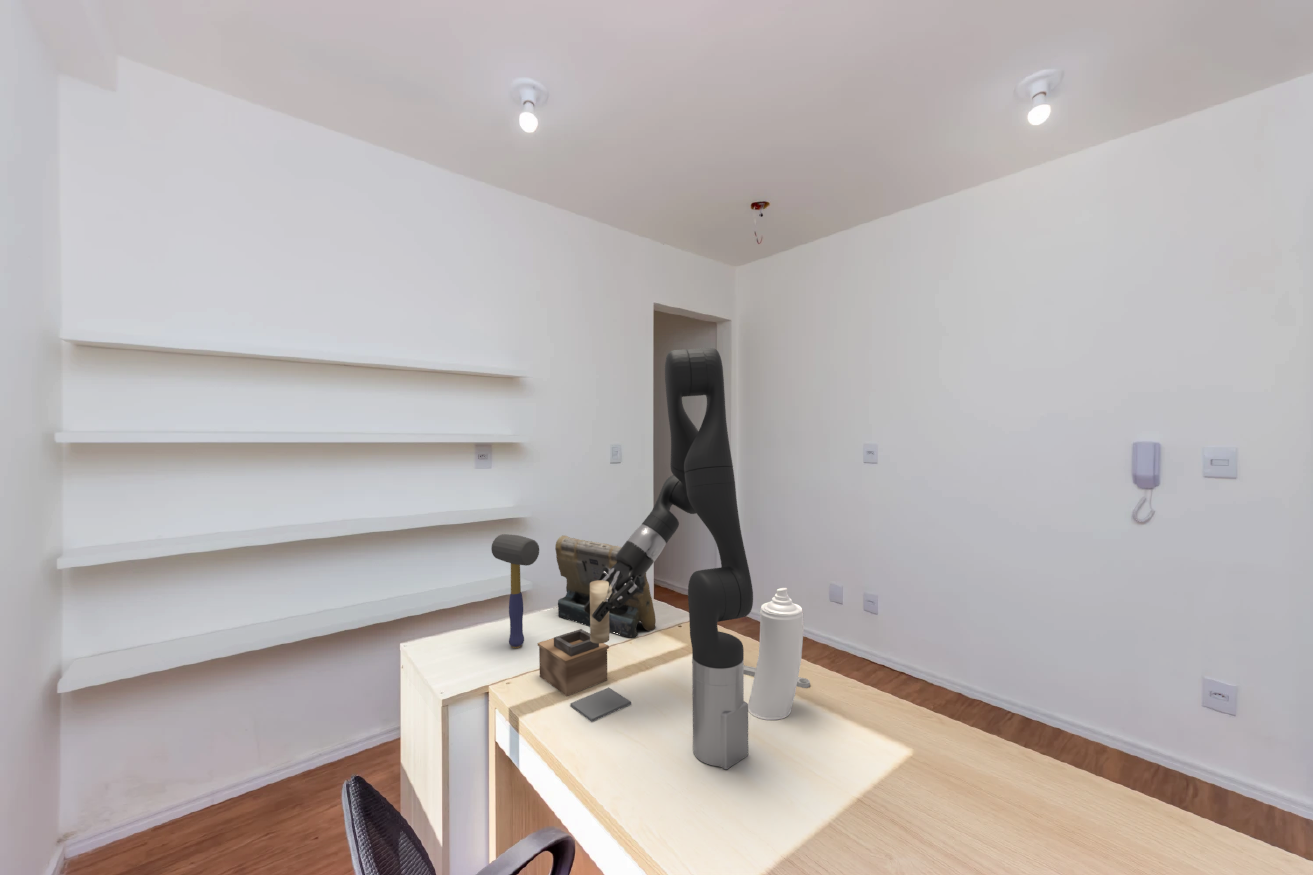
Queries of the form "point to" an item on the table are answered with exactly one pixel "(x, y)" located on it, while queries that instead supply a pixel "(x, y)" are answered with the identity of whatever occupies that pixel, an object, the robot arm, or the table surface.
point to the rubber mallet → (515, 576)
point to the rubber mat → (600, 704)
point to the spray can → (777, 658)
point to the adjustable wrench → (800, 683)
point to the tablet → (582, 568)
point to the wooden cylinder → (597, 595)
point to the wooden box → (572, 662)
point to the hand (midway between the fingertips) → (591, 615)
